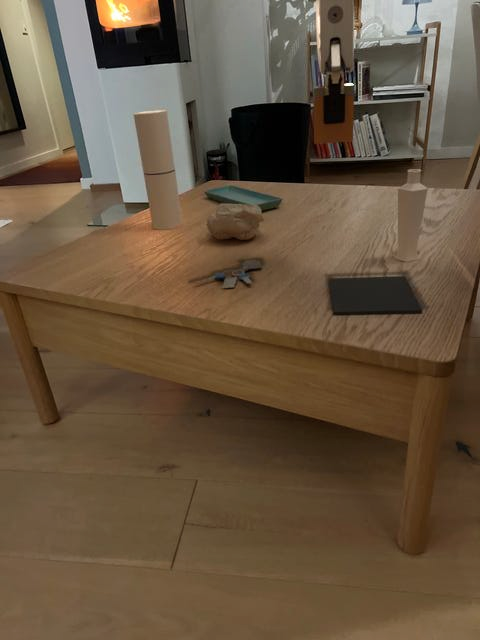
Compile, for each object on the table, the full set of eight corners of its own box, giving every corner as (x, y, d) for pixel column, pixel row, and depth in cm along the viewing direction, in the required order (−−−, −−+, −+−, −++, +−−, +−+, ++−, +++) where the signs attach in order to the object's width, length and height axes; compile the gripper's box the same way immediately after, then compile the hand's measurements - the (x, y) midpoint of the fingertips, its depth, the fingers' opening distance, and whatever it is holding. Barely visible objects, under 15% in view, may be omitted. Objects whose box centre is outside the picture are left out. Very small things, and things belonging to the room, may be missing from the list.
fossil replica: (208, 234, 105) (210, 252, 97) (201, 198, 101) (202, 214, 92) (262, 224, 105) (268, 242, 97) (257, 188, 101) (263, 203, 92)
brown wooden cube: (351, 83, 76) (313, 86, 77) (354, 84, 71) (313, 88, 72) (349, 136, 80) (313, 138, 81) (353, 141, 75) (314, 143, 75)
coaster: (404, 278, 76) (405, 275, 76) (422, 313, 65) (422, 310, 65) (328, 281, 77) (328, 278, 77) (333, 315, 67) (333, 311, 67)
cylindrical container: (148, 230, 111) (128, 114, 100) (158, 221, 117) (140, 111, 106) (177, 229, 110) (160, 112, 98) (186, 220, 116) (171, 109, 104)
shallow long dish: (203, 197, 135) (202, 189, 134) (231, 191, 139) (230, 183, 138) (253, 215, 115) (253, 205, 114) (284, 208, 119) (283, 198, 118)
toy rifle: (252, 261, 88) (251, 257, 87) (285, 271, 82) (284, 266, 82) (192, 286, 80) (192, 281, 79) (224, 299, 74) (224, 294, 74)
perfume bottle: (415, 264, 81) (424, 174, 74) (390, 260, 83) (396, 172, 76) (424, 255, 84) (434, 168, 77) (400, 251, 86) (407, 166, 79)
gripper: (367, -28, 60) (362, 125, 68) (355, -10, 75) (352, 114, 83) (307, -21, 61) (309, 129, 69) (307, -4, 76) (309, 117, 84)
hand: (333, 119), depth 76 cm, fingers closed on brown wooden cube, 6 cm apart
